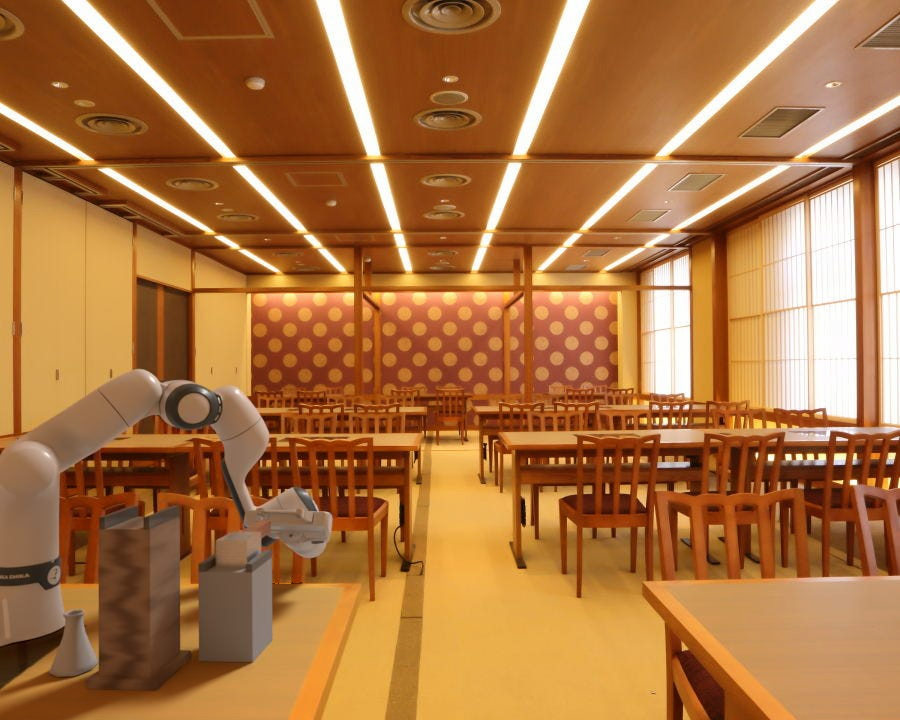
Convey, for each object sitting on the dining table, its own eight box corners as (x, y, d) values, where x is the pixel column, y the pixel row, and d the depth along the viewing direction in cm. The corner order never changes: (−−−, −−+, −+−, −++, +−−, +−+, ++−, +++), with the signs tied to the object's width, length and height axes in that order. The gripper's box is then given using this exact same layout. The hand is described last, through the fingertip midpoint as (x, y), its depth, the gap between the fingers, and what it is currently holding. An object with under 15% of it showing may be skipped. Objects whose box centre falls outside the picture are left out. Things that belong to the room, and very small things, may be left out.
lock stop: (215, 567, 120) (215, 540, 120) (251, 544, 137) (251, 520, 137) (247, 568, 119) (246, 540, 120) (279, 544, 136) (278, 520, 136)
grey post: (199, 661, 117) (198, 563, 117) (222, 638, 127) (222, 549, 127) (252, 662, 116) (251, 564, 117) (272, 639, 126) (271, 549, 127)
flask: (75, 680, 110) (75, 621, 111) (40, 676, 112) (40, 618, 112) (106, 661, 117) (106, 606, 118) (72, 658, 119) (72, 604, 119)
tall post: (86, 688, 107) (86, 518, 108) (128, 657, 119) (127, 504, 120) (155, 690, 106) (155, 518, 107) (191, 658, 118) (190, 504, 119)
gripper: (257, 514, 160) (237, 496, 148) (338, 516, 158) (324, 498, 146) (252, 540, 157) (231, 524, 145) (335, 542, 155) (320, 526, 143)
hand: (278, 511), depth 145 cm, fingers open, 8 cm apart
